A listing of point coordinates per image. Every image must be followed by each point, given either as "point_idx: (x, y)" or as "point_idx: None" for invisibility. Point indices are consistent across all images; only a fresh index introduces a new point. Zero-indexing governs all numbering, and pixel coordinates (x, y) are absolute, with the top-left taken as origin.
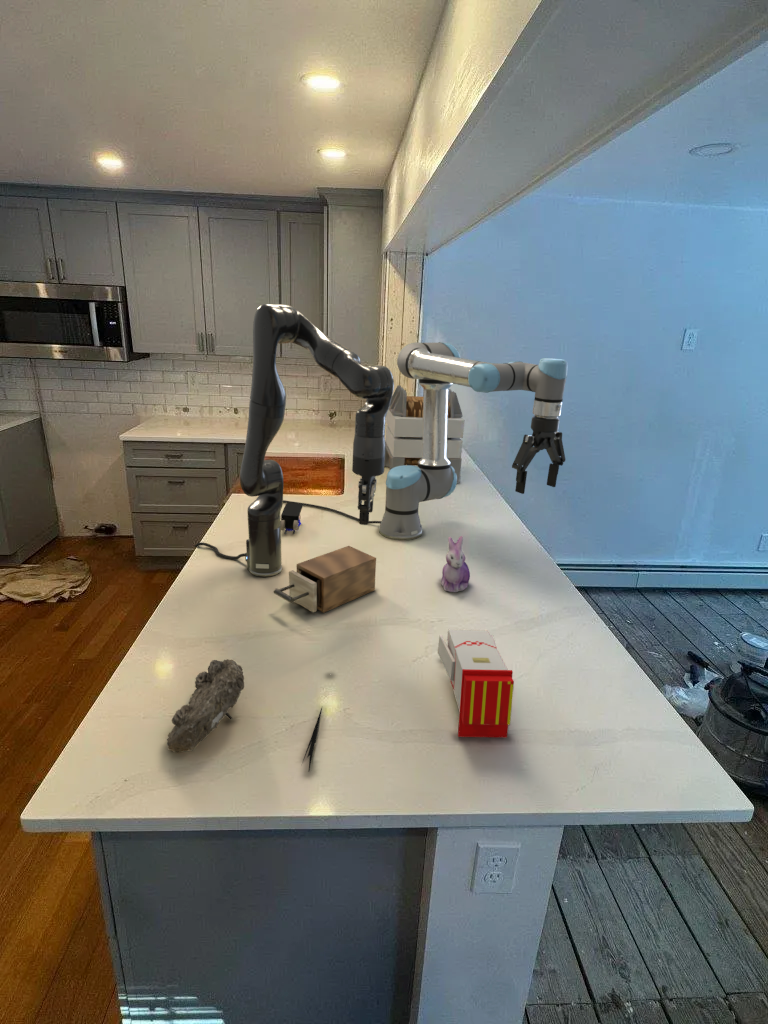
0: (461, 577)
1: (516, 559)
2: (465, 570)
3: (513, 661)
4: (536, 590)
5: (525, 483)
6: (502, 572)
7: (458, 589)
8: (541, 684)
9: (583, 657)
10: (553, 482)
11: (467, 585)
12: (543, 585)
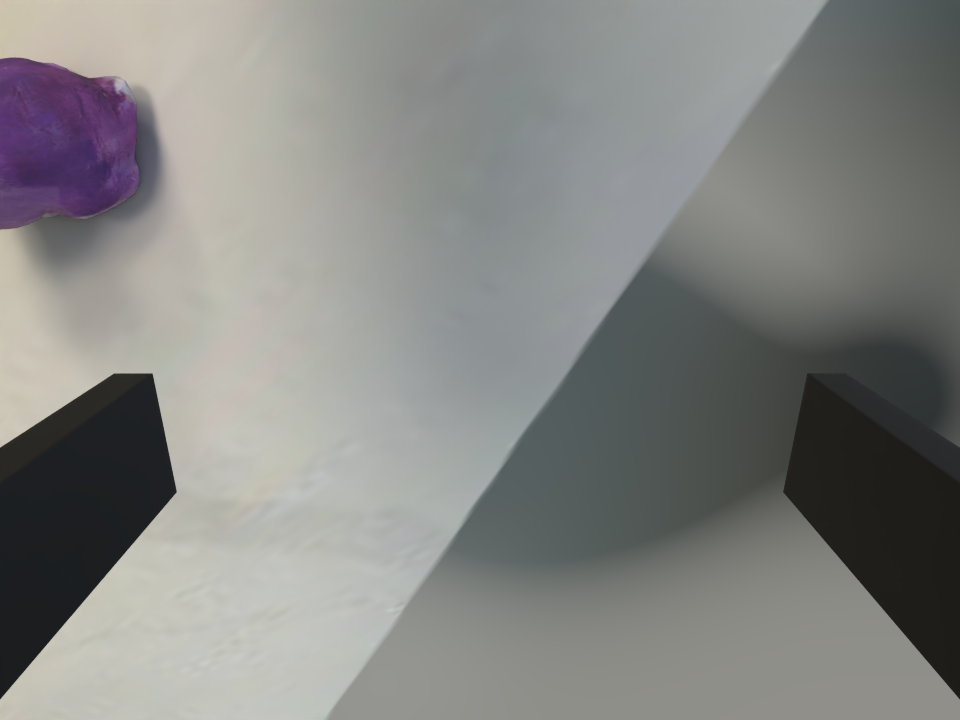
0: (19, 226)
1: (583, 87)
2: (44, 208)
3: None
4: (401, 376)
5: (88, 591)
6: (393, 169)
7: (53, 215)
8: (24, 703)
9: (216, 689)
10: (821, 514)
11: (122, 201)
12: (464, 361)
